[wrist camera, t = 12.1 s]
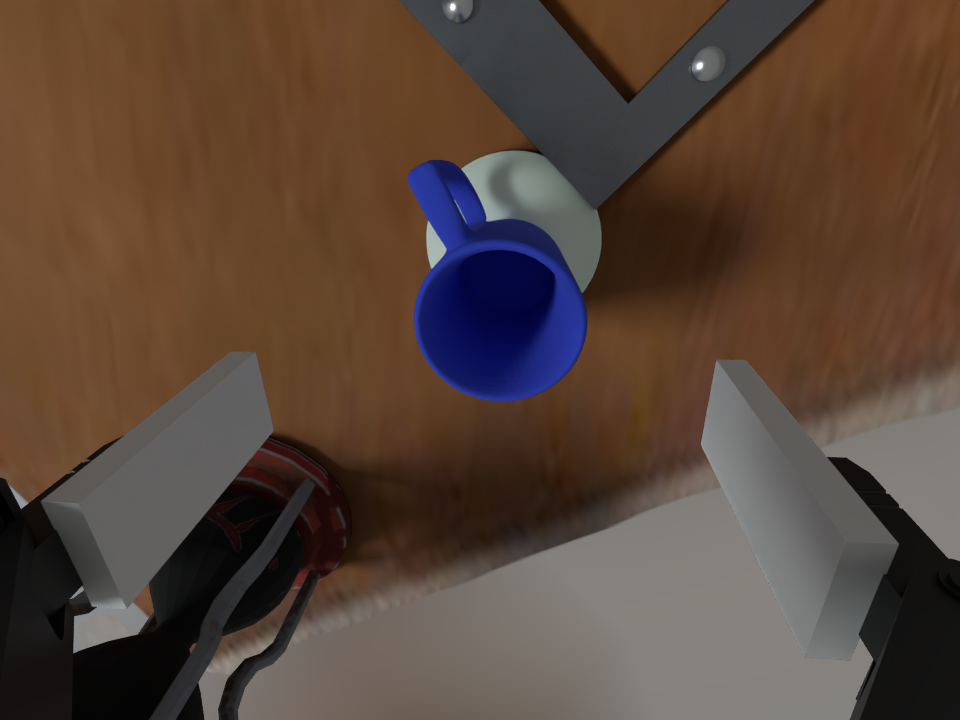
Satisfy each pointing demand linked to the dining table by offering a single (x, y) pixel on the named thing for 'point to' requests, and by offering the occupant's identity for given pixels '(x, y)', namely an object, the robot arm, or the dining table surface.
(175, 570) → the hourglass
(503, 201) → the pale grey rounded piece
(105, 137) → the dining table surface
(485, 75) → the gray cutout board
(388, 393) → the dining table surface
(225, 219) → the dining table surface
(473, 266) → the mug
